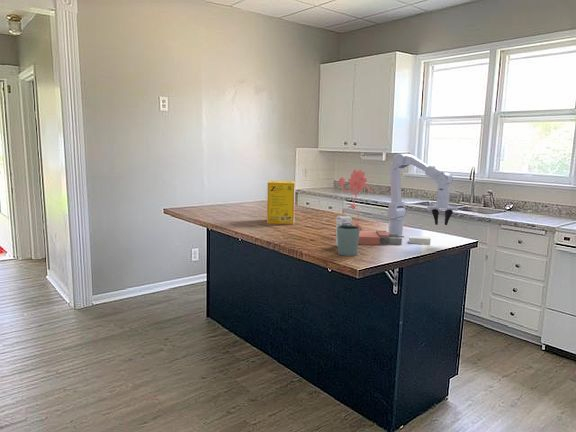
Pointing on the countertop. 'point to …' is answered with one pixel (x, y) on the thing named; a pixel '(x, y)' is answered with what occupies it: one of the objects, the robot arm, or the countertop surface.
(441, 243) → the countertop surface
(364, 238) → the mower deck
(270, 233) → the countertop surface
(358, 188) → the pink flower bunch
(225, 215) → the countertop surface
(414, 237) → the chute
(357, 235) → the green tapered cup
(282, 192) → the packaging box
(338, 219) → the syrup box
